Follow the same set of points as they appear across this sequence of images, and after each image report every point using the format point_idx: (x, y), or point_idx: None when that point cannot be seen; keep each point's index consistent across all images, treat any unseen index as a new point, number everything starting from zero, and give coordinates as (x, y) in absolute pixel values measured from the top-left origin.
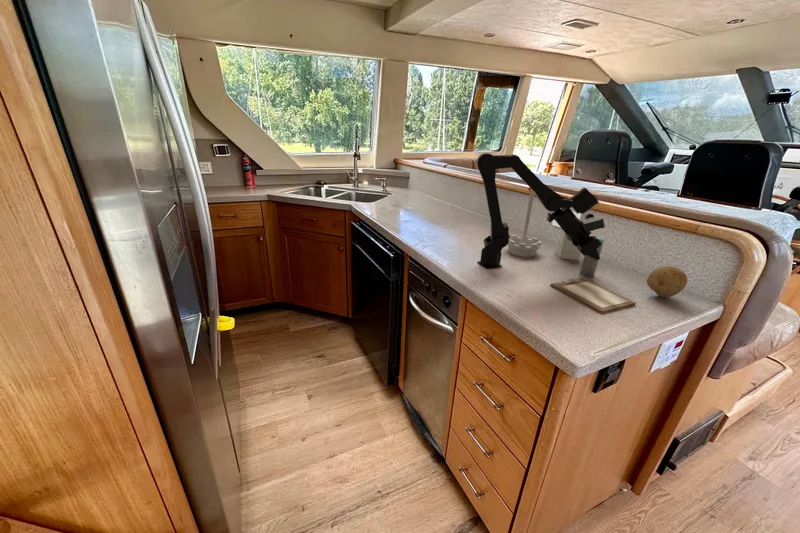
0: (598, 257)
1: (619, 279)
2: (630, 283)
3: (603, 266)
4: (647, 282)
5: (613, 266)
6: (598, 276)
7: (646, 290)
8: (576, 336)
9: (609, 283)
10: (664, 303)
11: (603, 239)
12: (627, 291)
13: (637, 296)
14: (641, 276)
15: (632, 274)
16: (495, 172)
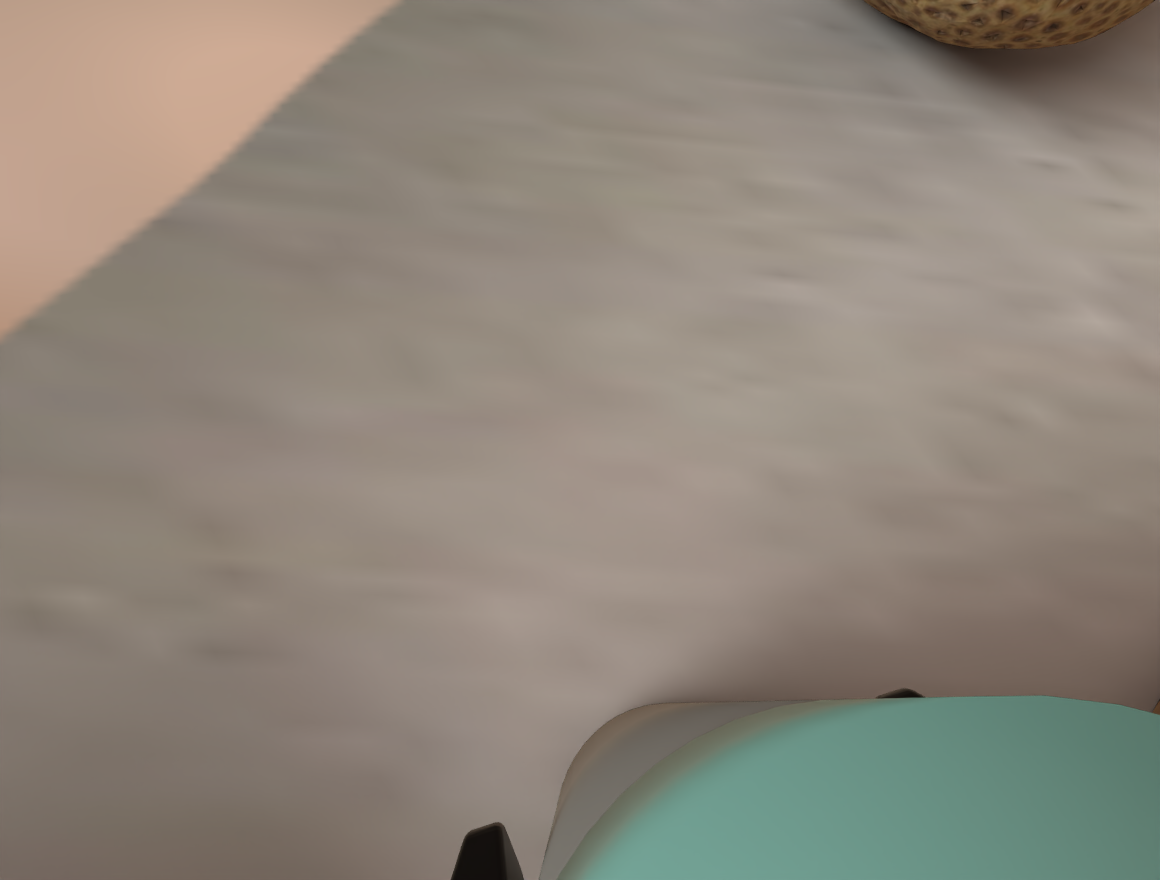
0: None
1: (613, 354)
2: (688, 244)
3: (110, 533)
4: (1068, 25)
5: (51, 388)
6: (660, 633)
7: (820, 114)
8: None
9: (871, 491)
10: None
11: (935, 744)
12: (1015, 302)
13: (1098, 218)
14: (337, 106)
15: (309, 189)
16: None
